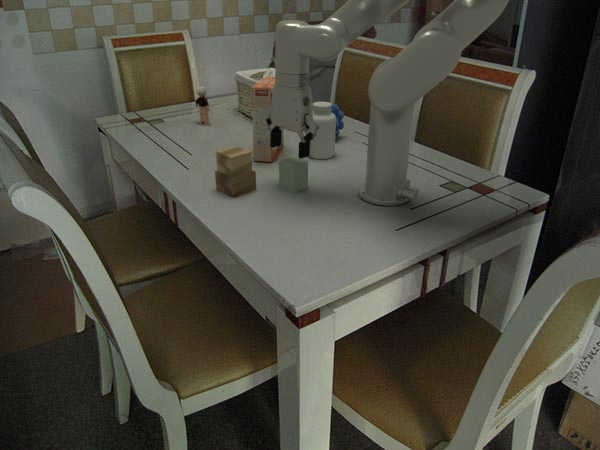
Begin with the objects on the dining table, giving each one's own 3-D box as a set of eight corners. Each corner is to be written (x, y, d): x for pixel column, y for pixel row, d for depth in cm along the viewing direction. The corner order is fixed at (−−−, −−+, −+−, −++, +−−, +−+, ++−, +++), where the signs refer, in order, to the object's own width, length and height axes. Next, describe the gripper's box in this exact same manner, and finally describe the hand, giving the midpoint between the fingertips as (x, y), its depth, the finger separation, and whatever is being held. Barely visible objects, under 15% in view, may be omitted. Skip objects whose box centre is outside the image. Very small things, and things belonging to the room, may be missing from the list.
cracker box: (274, 163, 141) (272, 87, 132) (253, 162, 142) (249, 86, 133) (285, 147, 153) (284, 76, 144) (266, 146, 154) (263, 75, 145)
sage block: (307, 187, 127) (308, 160, 123) (293, 193, 123) (293, 166, 120) (293, 181, 130) (293, 155, 126) (279, 187, 127) (278, 160, 123)
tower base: (256, 190, 125) (255, 171, 123) (234, 198, 121) (232, 178, 119) (238, 182, 130) (237, 163, 127) (216, 190, 125) (214, 171, 123)
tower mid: (252, 171, 123) (251, 151, 121) (232, 177, 119) (231, 157, 117) (237, 164, 127) (236, 145, 125) (217, 170, 123) (215, 151, 121)
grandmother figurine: (216, 124, 175) (213, 86, 169) (209, 126, 172) (206, 89, 166) (200, 120, 179) (196, 84, 173) (192, 123, 176) (188, 86, 170)
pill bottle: (326, 161, 142) (327, 108, 135) (301, 156, 146) (302, 104, 139) (339, 153, 148) (341, 102, 141) (315, 148, 152) (316, 98, 145)
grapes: (321, 146, 154) (322, 107, 148) (309, 140, 159) (309, 102, 153) (351, 139, 160) (353, 101, 154) (338, 134, 165) (339, 97, 159)
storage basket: (235, 110, 191) (232, 70, 184) (274, 105, 197) (273, 66, 191) (261, 127, 172) (259, 83, 165) (303, 120, 179) (303, 78, 172)
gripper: (331, 84, 112) (326, 158, 120) (277, 71, 122) (276, 139, 130) (307, 89, 107) (304, 165, 115) (253, 74, 117) (254, 145, 125)
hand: (289, 151), depth 122 cm, fingers open, 9 cm apart
